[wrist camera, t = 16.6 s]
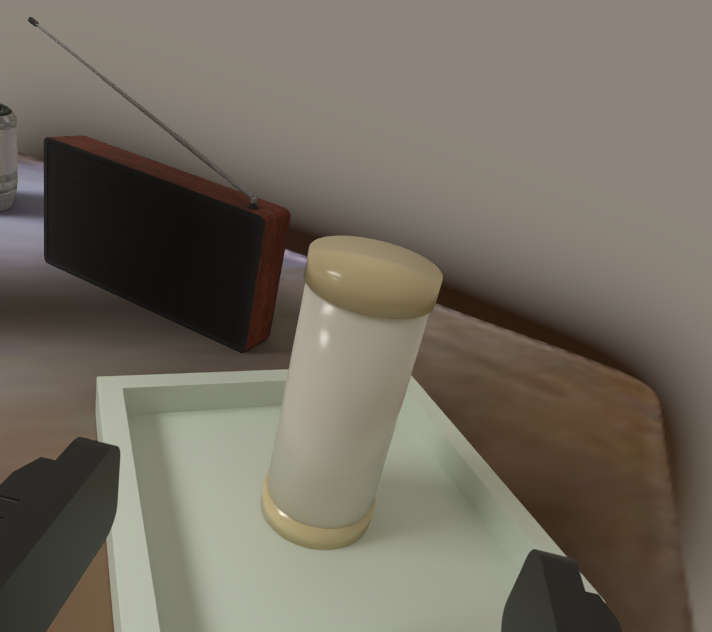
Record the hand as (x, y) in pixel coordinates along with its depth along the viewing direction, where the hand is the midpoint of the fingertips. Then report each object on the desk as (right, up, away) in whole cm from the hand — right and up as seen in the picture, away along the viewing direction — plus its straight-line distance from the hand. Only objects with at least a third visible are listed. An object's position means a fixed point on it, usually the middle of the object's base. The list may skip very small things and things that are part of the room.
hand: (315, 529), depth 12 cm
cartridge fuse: (-1, -4, +13) cm, 14 cm away
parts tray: (-1, -4, +14) cm, 14 cm away
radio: (-13, +5, +28) cm, 32 cm away
